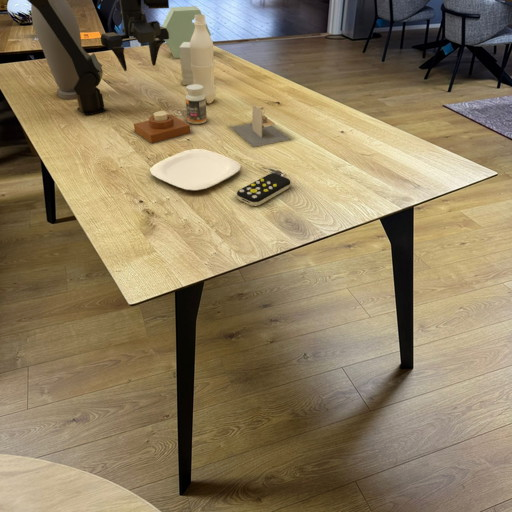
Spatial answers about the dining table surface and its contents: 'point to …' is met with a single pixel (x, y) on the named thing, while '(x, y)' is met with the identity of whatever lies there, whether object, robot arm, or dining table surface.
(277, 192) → the remote control
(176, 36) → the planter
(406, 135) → the dining table surface
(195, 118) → the pill bottle
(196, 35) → the water bottle
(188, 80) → the light grey tall block
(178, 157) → the plate
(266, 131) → the architectural model
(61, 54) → the vase
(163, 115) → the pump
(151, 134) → the base
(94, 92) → the robot arm
